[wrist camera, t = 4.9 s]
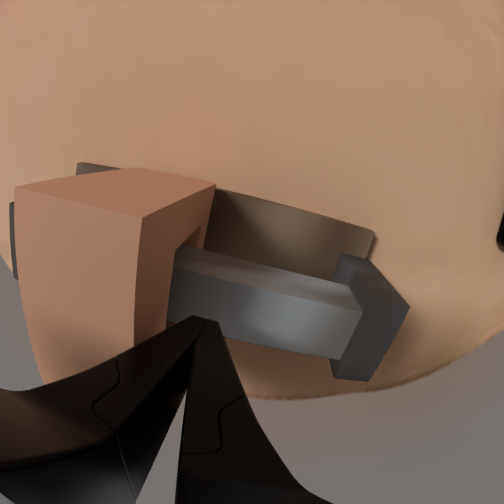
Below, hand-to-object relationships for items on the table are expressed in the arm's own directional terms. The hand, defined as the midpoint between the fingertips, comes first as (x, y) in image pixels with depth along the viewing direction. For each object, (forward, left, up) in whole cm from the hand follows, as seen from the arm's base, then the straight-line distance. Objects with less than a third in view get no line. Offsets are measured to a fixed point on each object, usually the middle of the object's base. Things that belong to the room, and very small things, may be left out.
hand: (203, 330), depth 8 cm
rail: (+1, 0, -6) cm, 7 cm away
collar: (+3, 0, -6) cm, 7 cm away
